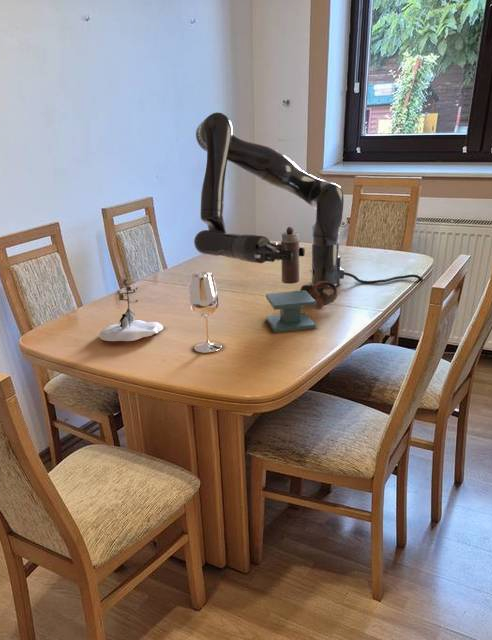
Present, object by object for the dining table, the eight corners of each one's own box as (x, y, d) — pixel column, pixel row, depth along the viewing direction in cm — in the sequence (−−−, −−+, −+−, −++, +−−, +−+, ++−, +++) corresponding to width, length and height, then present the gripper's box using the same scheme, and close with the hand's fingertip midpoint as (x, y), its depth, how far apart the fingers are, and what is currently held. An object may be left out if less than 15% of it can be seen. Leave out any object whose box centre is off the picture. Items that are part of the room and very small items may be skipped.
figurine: (143, 345, 161) (136, 285, 154) (87, 342, 167) (78, 284, 160) (173, 328, 178) (169, 274, 171) (121, 326, 184) (115, 273, 177)
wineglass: (193, 344, 163) (186, 272, 153) (221, 341, 163) (215, 269, 153) (194, 354, 156) (187, 279, 146) (223, 351, 156) (218, 277, 146)
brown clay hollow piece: (335, 300, 191) (341, 281, 184) (330, 320, 186) (336, 302, 179) (300, 291, 191) (305, 272, 184) (294, 311, 187) (298, 292, 180)
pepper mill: (296, 278, 168) (296, 224, 160) (301, 282, 164) (301, 227, 156) (280, 279, 167) (279, 226, 160) (283, 284, 163) (282, 229, 156)
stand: (305, 315, 178) (305, 289, 174) (315, 328, 167) (315, 301, 163) (266, 320, 177) (265, 293, 173) (274, 333, 166) (274, 305, 162)
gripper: (234, 240, 164) (282, 245, 154) (265, 230, 173) (313, 235, 162) (235, 267, 168) (282, 274, 158) (266, 256, 176) (313, 262, 166)
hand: (297, 254), depth 160 cm, fingers closed on pepper mill, 5 cm apart
